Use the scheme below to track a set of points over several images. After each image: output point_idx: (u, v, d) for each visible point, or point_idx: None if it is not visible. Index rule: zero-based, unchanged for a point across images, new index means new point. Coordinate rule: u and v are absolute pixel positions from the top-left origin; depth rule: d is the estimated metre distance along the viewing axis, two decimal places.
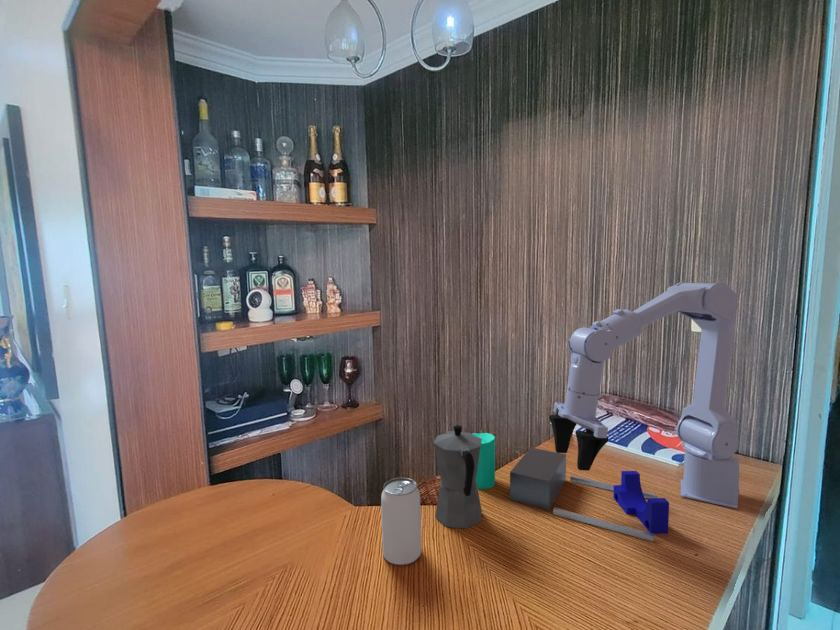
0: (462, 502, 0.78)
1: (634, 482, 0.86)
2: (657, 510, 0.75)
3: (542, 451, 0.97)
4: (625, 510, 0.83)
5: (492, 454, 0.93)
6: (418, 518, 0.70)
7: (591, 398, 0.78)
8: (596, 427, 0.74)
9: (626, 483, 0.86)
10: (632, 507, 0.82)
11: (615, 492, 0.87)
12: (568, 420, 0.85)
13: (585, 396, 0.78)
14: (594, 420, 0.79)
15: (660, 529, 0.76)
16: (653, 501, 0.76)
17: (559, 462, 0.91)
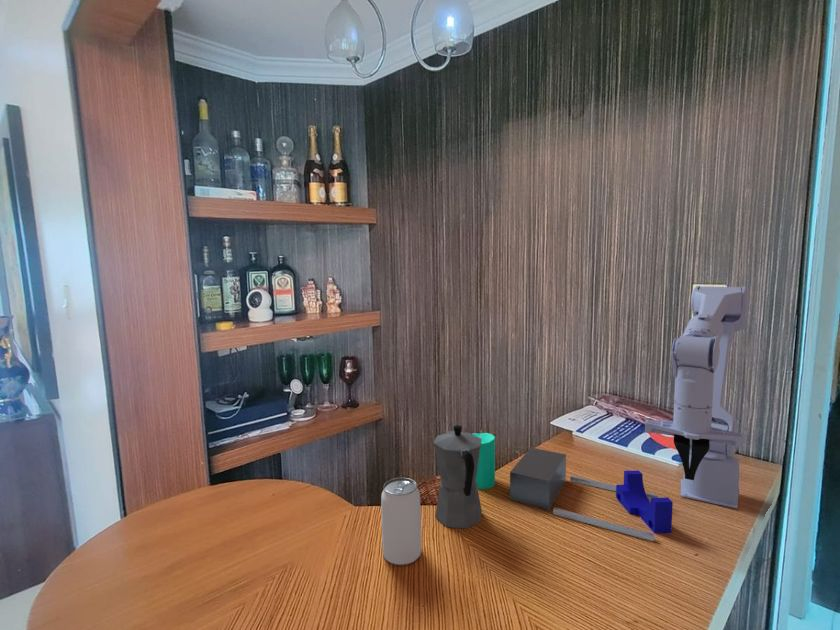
0: (462, 502, 0.78)
1: (637, 482, 0.86)
2: (660, 510, 0.75)
3: (542, 451, 0.97)
4: (628, 509, 0.83)
5: (492, 454, 0.93)
6: (418, 518, 0.70)
7: None
8: (739, 438, 0.71)
9: (629, 483, 0.86)
10: (635, 507, 0.82)
11: (618, 492, 0.87)
12: (689, 440, 0.77)
13: (710, 409, 0.73)
14: None
15: (663, 529, 0.76)
16: (657, 501, 0.76)
17: (559, 462, 0.91)
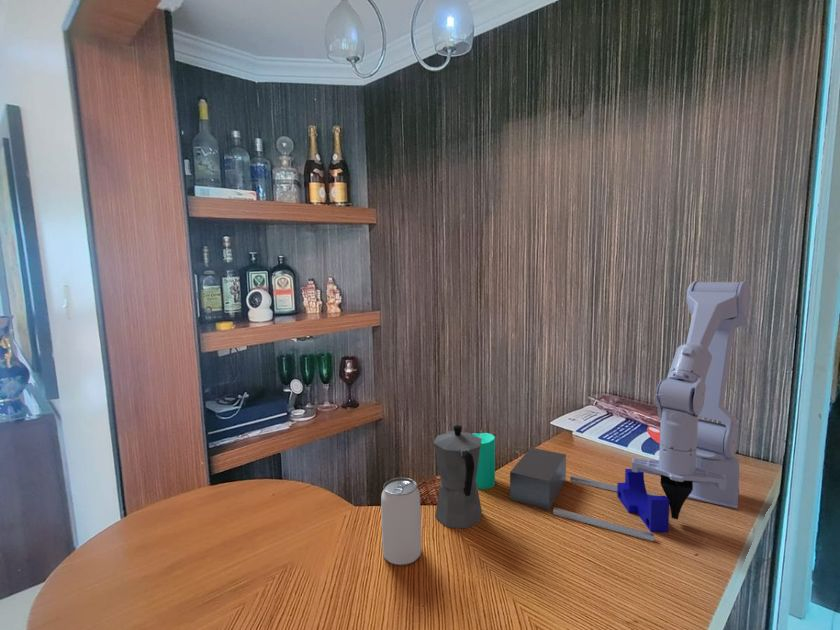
0: (462, 502, 0.78)
1: (638, 480, 0.86)
2: (657, 507, 0.76)
3: (542, 451, 0.97)
4: (627, 507, 0.83)
5: (492, 454, 0.93)
6: (418, 518, 0.70)
7: (696, 451, 0.76)
8: (722, 480, 0.73)
9: (629, 481, 0.86)
10: (634, 504, 0.82)
11: (619, 490, 0.87)
12: (676, 480, 0.78)
13: (695, 451, 0.75)
14: None
15: (660, 527, 0.76)
16: (653, 499, 0.76)
17: (559, 462, 0.91)
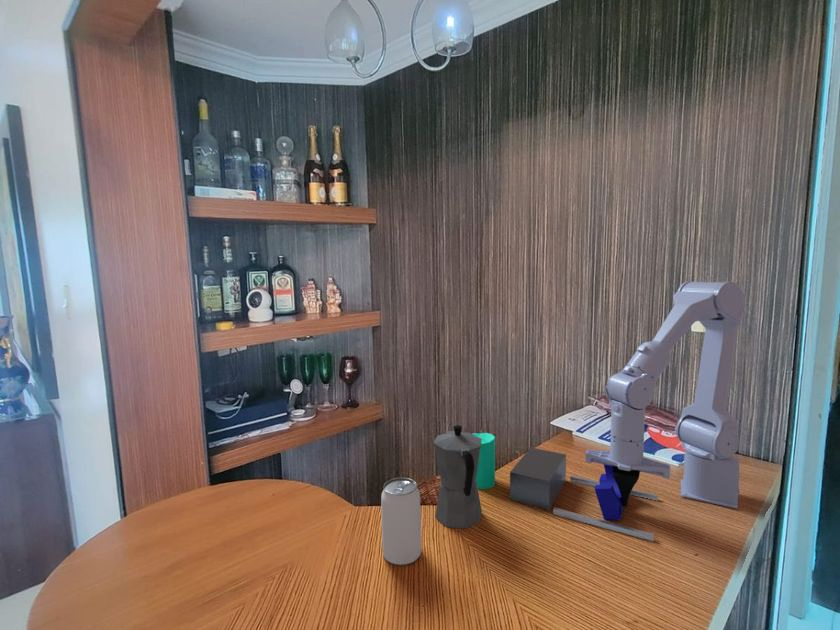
0: (462, 502, 0.78)
1: None
2: (602, 496, 0.80)
3: (542, 451, 0.97)
4: None
5: (492, 454, 0.93)
6: (418, 518, 0.70)
7: (643, 442, 0.80)
8: (667, 469, 0.77)
9: (606, 471, 0.89)
10: None
11: None
12: None
13: (641, 442, 0.79)
14: None
15: (611, 514, 0.79)
16: (597, 488, 0.80)
17: (559, 462, 0.91)
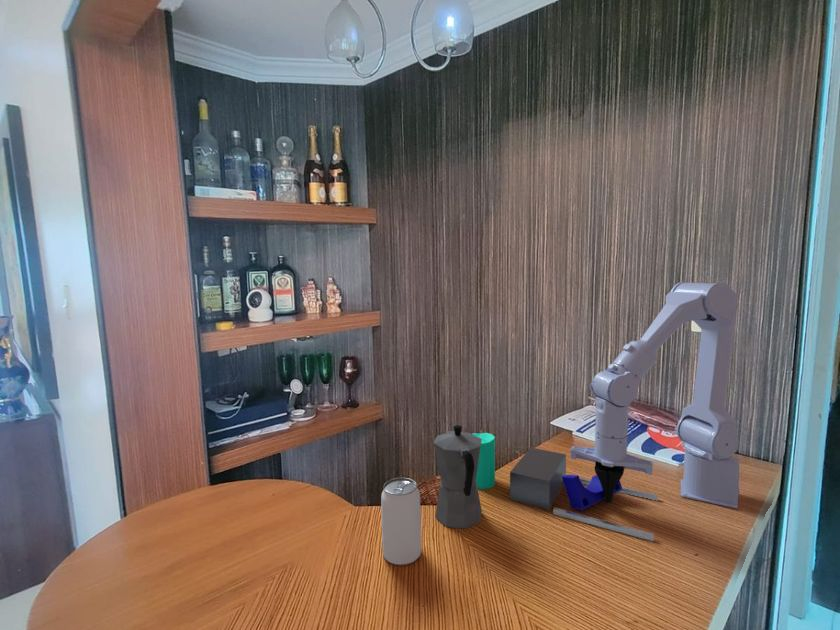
0: (462, 502, 0.78)
1: None
2: (567, 484, 0.84)
3: (542, 451, 0.97)
4: None
5: (492, 454, 0.93)
6: (418, 518, 0.70)
7: None
8: (649, 466, 0.79)
9: None
10: (588, 489, 0.88)
11: None
12: (609, 466, 0.84)
13: (625, 439, 0.80)
14: None
15: (575, 503, 0.83)
16: (564, 476, 0.85)
17: (559, 462, 0.91)
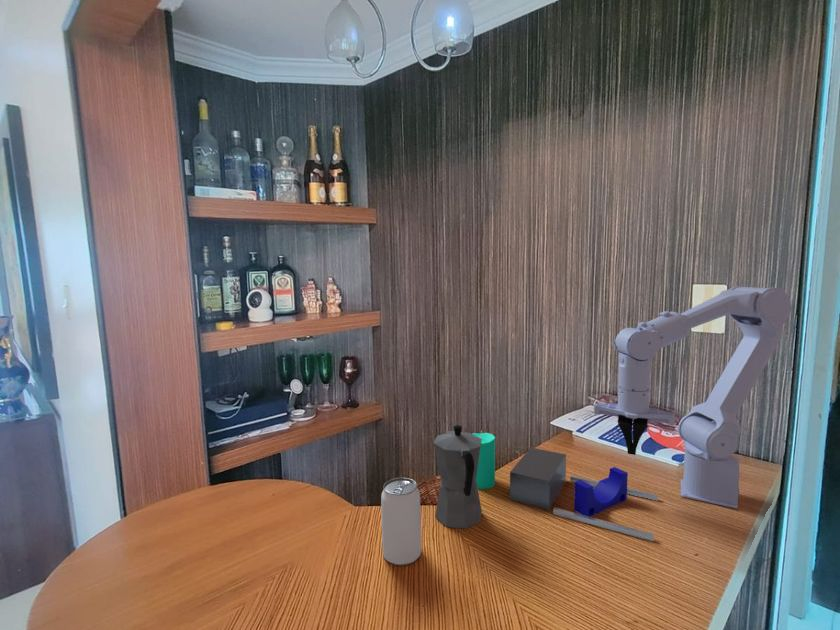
0: (462, 502, 0.78)
1: (616, 479, 0.87)
2: (578, 491, 0.82)
3: (542, 451, 0.97)
4: None
5: (492, 454, 0.93)
6: (418, 518, 0.70)
7: (649, 392, 0.85)
8: (671, 416, 0.82)
9: (609, 477, 0.88)
10: (593, 494, 0.87)
11: None
12: (631, 420, 0.87)
13: (648, 392, 0.84)
14: None
15: (581, 510, 0.82)
16: (577, 482, 0.83)
17: (559, 462, 0.91)
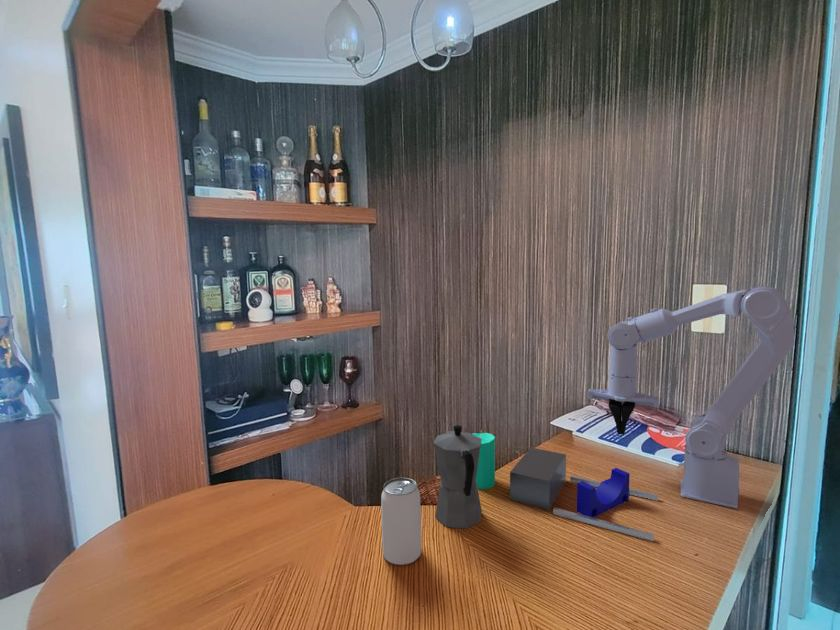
0: (462, 502, 0.78)
1: (618, 480, 0.86)
2: (581, 492, 0.82)
3: (542, 451, 0.97)
4: None
5: (492, 454, 0.93)
6: (418, 518, 0.70)
7: (636, 378, 0.95)
8: (656, 400, 0.93)
9: (611, 478, 0.88)
10: (596, 495, 0.87)
11: None
12: (621, 403, 0.98)
13: (635, 378, 0.94)
14: None
15: (583, 511, 0.82)
16: (580, 483, 0.82)
17: (559, 462, 0.91)
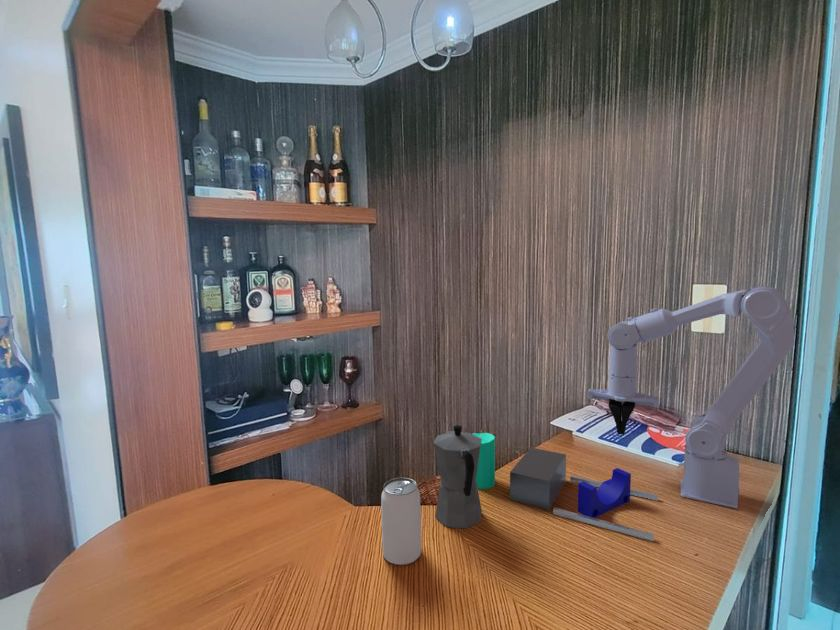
0: (462, 502, 0.78)
1: (619, 481, 0.86)
2: (582, 492, 0.82)
3: (542, 451, 0.97)
4: None
5: (492, 454, 0.93)
6: (418, 518, 0.70)
7: (636, 378, 0.95)
8: (656, 400, 0.93)
9: (612, 478, 0.88)
10: None
11: None
12: (621, 403, 0.98)
13: (635, 378, 0.94)
14: None
15: (584, 512, 0.82)
16: (581, 483, 0.82)
17: (559, 462, 0.91)
